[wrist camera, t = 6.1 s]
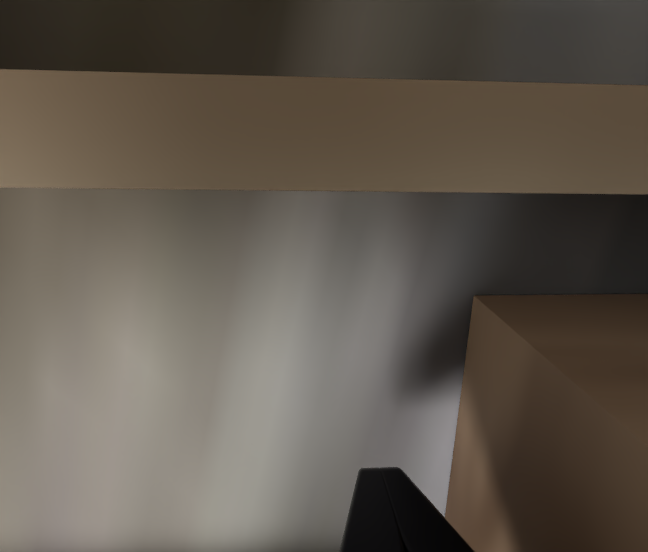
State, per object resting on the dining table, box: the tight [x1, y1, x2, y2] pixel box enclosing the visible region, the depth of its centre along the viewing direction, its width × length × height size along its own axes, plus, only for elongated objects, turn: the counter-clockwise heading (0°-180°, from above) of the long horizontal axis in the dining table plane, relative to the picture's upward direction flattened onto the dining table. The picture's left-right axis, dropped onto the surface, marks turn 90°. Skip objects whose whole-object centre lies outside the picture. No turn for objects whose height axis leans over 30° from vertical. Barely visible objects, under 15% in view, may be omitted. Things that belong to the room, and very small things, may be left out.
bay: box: [0, 69, 648, 194], centre depth 7 cm, size 13×22×3 cm, turn 89°
